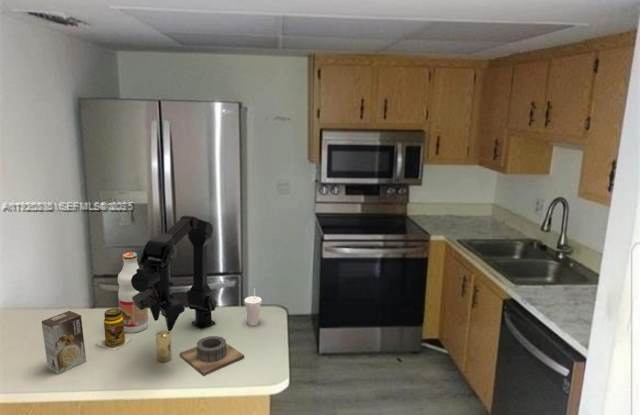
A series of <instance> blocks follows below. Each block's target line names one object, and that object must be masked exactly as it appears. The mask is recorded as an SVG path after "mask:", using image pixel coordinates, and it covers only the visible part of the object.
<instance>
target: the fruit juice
mask: <svg viewBox="0 0 640 415" xmlns="http://www.w3.org/2000/svg"><path fill="white" fill-rule="evenodd" d="M121 256H122V261H123V267H122V269H121V271H120V272H119V273H118V275H117V282H118V285H119V289H118V291H117V292H118V294H117V295H118V309H120V310H121V313H122V317H123V321H124V333H127V334H128V333H131V334H133V333H139V332H142V331H144V330H146V329H147V328H148V326H149V313H148V312H149V311H148V308H145V309H144V310H140V309H139V308H138V307H136V305H135V303H134V301H133V299H132V297H133V296H135V295H136V294H138V293H139V291H137V290H135V289H134V288H133V286H132V284H131V279H132V277H133V275H134V274H136V273H137V271H136V270H137V269H138V268H140V265H139V263H138V260H137V259H138V253H137V252H131V251H130V252H129V251H128V252H125V253H123V254H122V255H121Z"/></svg>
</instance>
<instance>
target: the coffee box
mask: <svg viewBox="0 0 640 415" xmlns="http://www.w3.org/2000/svg"><path fill="white" fill-rule="evenodd" d="M41 327H42V335H43V341H44V350H45V356H46V357H45V358H46V364H47V369H49V370H51V371H53V372H54V373H56V374H58V375H60V374H62V373H64V372H66V371H69V370H70V369H72V368H75V367H77V366H78V365H81V364H83V363H85V362H87V356H86V347H85V338H84V328H83V322H82V315H81V314H78V313H77V312H73V311H72V310H68V311H65V312H62V313H59V314H57V315H55V316H51V317H50V318H47V319H44V320H41Z"/></svg>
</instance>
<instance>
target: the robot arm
mask: <svg viewBox="0 0 640 415" xmlns="http://www.w3.org/2000/svg"><path fill="white" fill-rule="evenodd" d="M213 231H214V228H213V225H212V223H211V222H210V221H205V220H202V219H200V218H198V217H196V216H193V215H182V216H181V217H180V219H179V220H178V221H177V222H176V223H175V224H174V225H172V227H170V228H169V229H168V230H167V231H166V232H164V233H163V234H161V235H158V236H155V237H153V238H151V239H149V240H147V242H146V244H145V246H144V248H143V251H142V254H141V257H140V260H139V263H138V266H141V267H139V268H138V269H137V270H136V271H137V273H136V274H134V275H133V277H132V279H131V284H132V286H133V288H134V289H135V290H137V291H139V293H138V294H136V295H135V296H133V297H132V299H133V301H134V303H135V305H136V307H138V308H139V309H140V310H144V309H145V308H147V309H148V308H149V311H150V313H151V316H152V318H153V320H154V321H155V322H156V321H158V320H159V318H160V315H161V316H163V317H164V319H165V323H166V328H167V329H166V330H167V331H170V332H172V330H173V328H174V326H175V324H176V323H177V320H178V318H179V317H180V314H183V313H184V312H185V310H186V309H185V304H184V303H183V302H181V301H180V300H177V299H174V300H172V299H173V298H174V297H175V296H174V294H173V293H171V292H172V291H171V287H172V286H174V282H173V281H171V272H170V263H172V262H173V258H171V257H172V256H173V254H174V252H175V250H176V249H175V247H176V245H177V244H178V243H179V242H180V241H181V240H182V239H183V238H184V237H186V235H187V239H188V240H189V242H190V244H191V245H192V284H191V285H192V286H191V287H190V288H189V289H188V290H187V291H186V292H187V293H186V294H187V300H186V302H187V305H188V308H189V309H190V310H194V318H195V319H194V320H193V321H191V324H192V325H193V326H195V327H196V328H198V329H200V330H201V329H205V328H207V327H210V326H213V325H216V321H214V320H212V319H213V317H212V315H213V314H212V312H214V311H216V308H217V303H218V302H217V300H216V299H215V298H214V297H213V292H212V289H211V288H210V286H209V284H208V244H209V242H210V241H211V240H212V236H213Z"/></svg>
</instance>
